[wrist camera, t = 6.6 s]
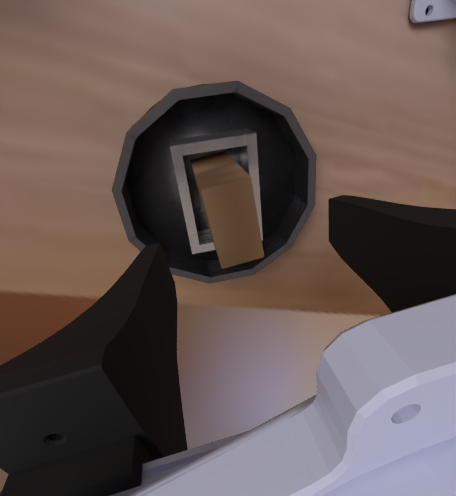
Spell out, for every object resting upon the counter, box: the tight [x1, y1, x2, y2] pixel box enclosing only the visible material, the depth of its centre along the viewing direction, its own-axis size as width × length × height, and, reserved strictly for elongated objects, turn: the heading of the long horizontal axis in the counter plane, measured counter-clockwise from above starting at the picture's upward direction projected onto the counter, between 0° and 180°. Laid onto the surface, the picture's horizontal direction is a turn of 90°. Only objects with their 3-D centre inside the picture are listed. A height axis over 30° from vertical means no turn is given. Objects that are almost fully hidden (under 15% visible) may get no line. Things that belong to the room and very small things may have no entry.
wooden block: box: [190, 151, 264, 269], centre depth 17 cm, size 2×4×6 cm, turn 12°
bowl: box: [112, 81, 316, 283], centre depth 19 cm, size 13×13×3 cm
